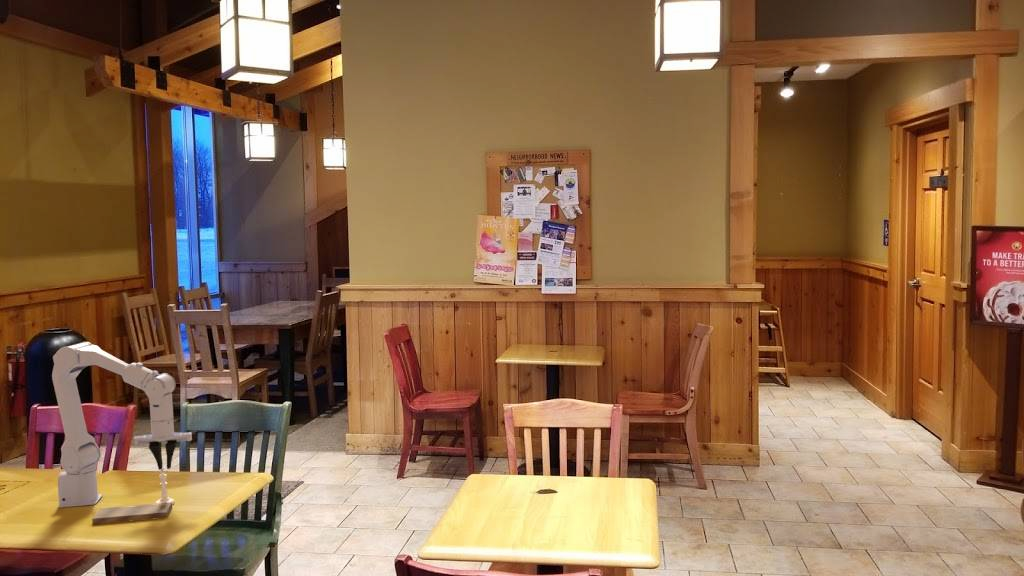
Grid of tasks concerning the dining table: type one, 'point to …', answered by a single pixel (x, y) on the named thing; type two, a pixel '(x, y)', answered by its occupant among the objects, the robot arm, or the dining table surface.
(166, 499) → the chess piece
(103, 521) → the walnut board
